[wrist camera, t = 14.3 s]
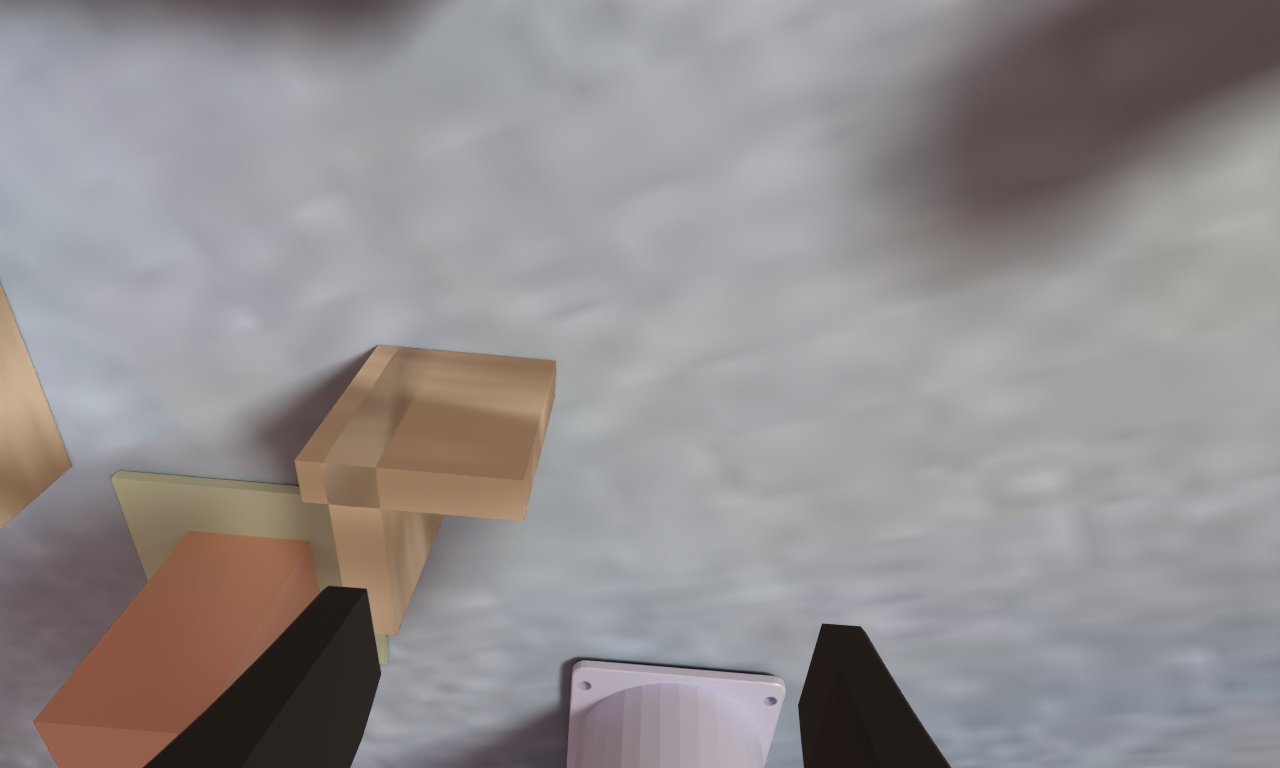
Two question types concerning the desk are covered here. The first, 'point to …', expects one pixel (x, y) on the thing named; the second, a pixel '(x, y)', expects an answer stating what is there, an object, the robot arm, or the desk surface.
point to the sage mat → (225, 519)
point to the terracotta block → (177, 647)
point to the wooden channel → (356, 454)
